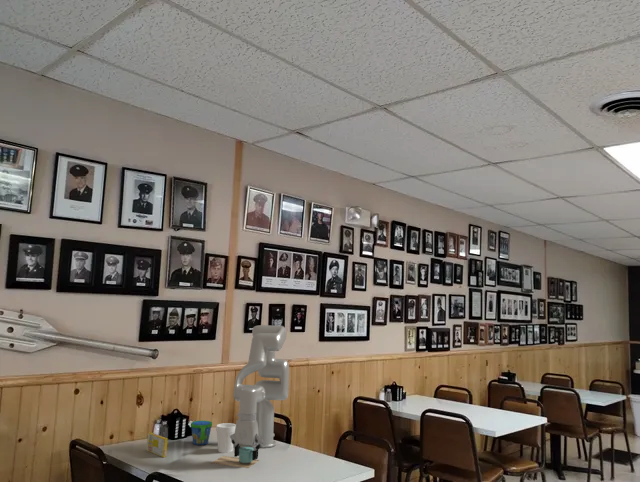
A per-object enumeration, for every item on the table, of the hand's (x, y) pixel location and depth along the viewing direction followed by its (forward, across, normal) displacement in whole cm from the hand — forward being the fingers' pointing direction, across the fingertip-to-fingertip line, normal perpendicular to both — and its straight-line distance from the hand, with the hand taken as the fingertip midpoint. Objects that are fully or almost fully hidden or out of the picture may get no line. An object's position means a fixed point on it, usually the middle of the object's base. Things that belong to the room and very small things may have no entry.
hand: (245, 457), depth 229 cm
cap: (+1, 0, 0) cm, 1 cm away
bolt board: (+4, -5, -1) cm, 6 cm away
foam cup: (+4, -19, +11) cm, 22 cm away
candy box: (+4, -47, -6) cm, 47 cm away
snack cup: (+4, -41, +19) cm, 45 cm away
